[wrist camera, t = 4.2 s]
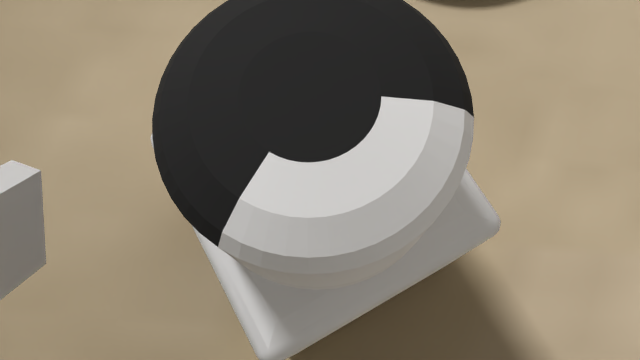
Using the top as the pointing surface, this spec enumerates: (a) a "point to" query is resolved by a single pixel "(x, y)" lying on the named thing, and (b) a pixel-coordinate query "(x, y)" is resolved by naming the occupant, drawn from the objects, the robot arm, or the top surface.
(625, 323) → the top surface
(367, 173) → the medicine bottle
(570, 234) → the top surface
